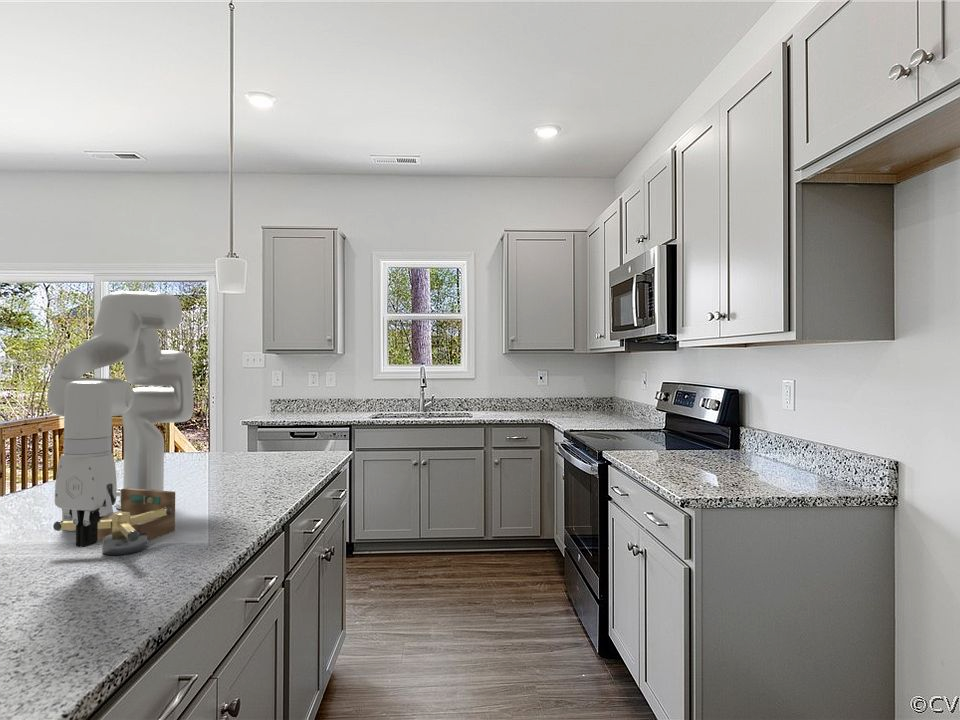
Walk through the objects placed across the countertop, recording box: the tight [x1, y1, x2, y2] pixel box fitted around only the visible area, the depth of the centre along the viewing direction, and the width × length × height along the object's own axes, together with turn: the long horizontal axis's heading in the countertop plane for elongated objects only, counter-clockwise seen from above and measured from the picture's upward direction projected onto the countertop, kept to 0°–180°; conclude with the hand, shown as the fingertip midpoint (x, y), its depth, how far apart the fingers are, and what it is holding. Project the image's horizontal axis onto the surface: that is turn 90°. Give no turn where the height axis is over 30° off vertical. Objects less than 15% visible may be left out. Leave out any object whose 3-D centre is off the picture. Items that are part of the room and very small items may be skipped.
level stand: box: [97, 487, 176, 542], centre depth 136 cm, size 14×10×9 cm
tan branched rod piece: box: [52, 506, 171, 556], centre depth 122 cm, size 22×19×7 cm
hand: (86, 544), depth 113 cm, fingers closed
